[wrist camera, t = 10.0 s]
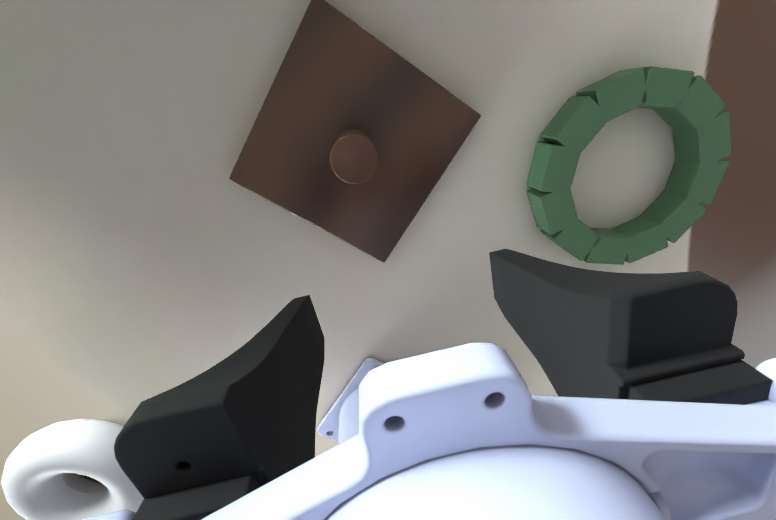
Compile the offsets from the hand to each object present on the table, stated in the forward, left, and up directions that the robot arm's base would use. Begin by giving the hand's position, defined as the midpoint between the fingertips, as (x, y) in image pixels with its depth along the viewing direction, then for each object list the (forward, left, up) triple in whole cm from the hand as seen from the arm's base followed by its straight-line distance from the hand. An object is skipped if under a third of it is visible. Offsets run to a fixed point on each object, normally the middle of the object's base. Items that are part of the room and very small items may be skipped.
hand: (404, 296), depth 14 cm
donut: (+9, +27, -9) cm, 30 cm away
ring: (-10, -10, -9) cm, 17 cm away
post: (+4, -3, -9) cm, 10 cm away
